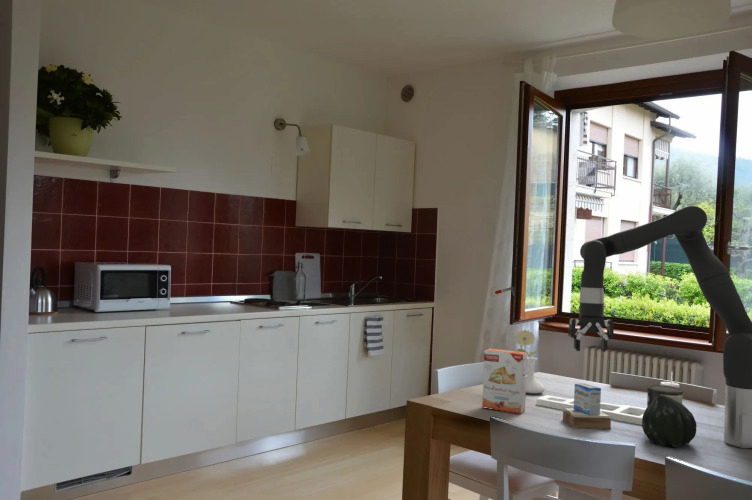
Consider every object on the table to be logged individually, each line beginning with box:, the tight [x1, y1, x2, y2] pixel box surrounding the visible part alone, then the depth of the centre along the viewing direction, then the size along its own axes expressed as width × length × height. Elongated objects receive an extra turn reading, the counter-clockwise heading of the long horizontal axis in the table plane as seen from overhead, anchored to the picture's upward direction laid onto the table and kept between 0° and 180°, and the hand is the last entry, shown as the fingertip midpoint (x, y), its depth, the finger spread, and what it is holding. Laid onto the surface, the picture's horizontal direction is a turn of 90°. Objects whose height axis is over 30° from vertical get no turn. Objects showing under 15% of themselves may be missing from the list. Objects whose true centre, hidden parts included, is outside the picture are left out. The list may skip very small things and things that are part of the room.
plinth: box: [562, 408, 612, 430], centre depth 205 cm, size 10×12×4 cm
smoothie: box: [659, 371, 680, 388], centre depth 230 cm, size 6×6×14 cm
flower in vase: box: [514, 329, 546, 394], centre depth 253 cm, size 13×11×25 cm
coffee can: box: [646, 384, 684, 408], centre depth 198 cm, size 10×10×14 cm
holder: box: [536, 394, 647, 426], centre depth 223 cm, size 45×18×3 cm, turn 50°
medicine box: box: [573, 382, 602, 415], centre depth 205 cm, size 8×4×9 cm, turn 22°
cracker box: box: [481, 347, 528, 415], centre depth 221 cm, size 14×6×21 cm, turn 62°
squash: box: [641, 394, 698, 448], centre depth 186 cm, size 14×15×15 cm
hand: (590, 351), depth 205 cm, fingers open, 8 cm apart
